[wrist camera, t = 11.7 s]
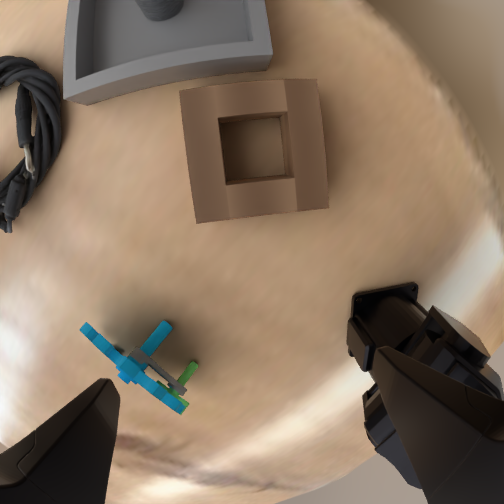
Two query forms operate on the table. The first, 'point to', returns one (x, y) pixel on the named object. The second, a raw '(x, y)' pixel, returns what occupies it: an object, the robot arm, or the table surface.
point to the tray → (159, 45)
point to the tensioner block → (293, 140)
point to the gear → (138, 362)
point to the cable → (29, 133)
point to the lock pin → (160, 8)
